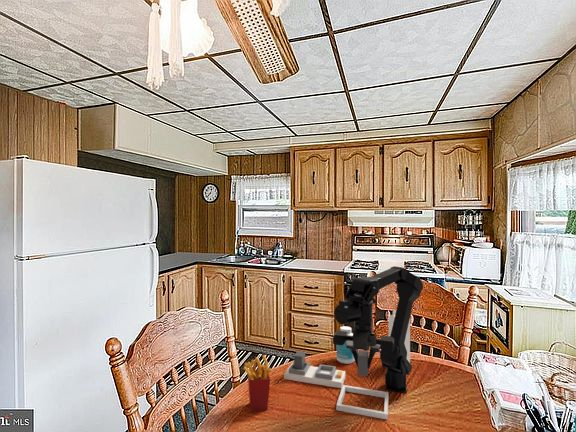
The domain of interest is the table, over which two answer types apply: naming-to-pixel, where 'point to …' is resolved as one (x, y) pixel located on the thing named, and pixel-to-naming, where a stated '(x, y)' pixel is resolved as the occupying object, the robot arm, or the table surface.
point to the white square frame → (362, 410)
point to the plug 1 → (299, 360)
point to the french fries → (258, 384)
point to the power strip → (317, 375)
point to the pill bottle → (345, 349)
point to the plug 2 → (363, 363)
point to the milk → (407, 339)
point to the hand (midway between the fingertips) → (363, 367)
